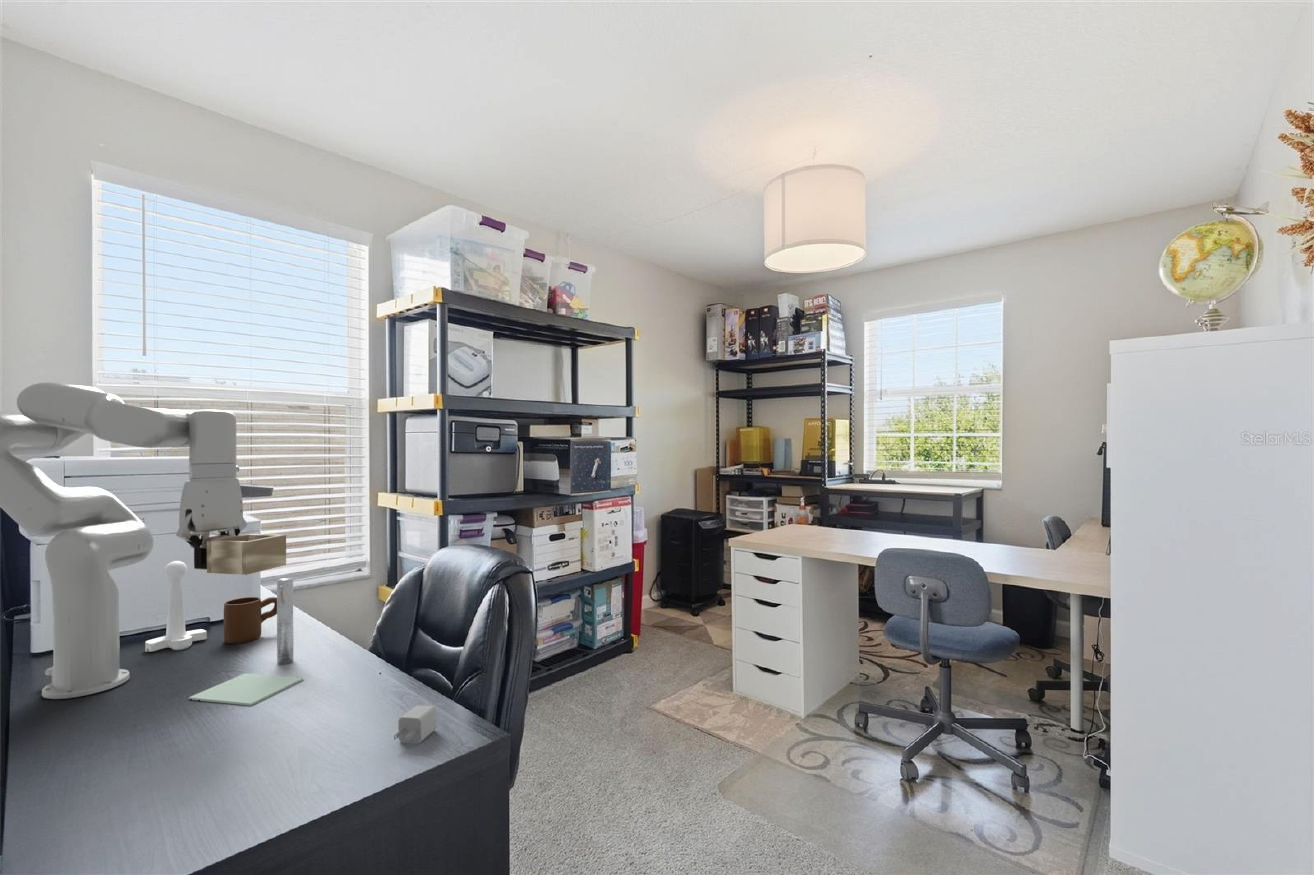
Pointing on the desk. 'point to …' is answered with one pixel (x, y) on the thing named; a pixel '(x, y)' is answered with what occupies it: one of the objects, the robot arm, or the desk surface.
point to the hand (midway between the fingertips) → (213, 564)
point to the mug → (245, 618)
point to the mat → (246, 689)
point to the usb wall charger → (416, 724)
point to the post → (285, 621)
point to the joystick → (175, 614)
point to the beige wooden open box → (245, 553)
